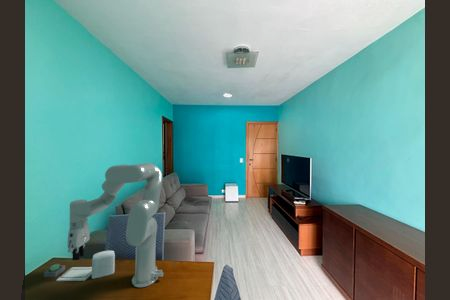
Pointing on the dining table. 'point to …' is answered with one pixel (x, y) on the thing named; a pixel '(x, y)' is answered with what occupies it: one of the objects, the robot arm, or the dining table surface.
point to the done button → (54, 267)
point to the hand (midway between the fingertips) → (78, 257)
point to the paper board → (76, 274)
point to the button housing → (54, 274)
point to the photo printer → (103, 264)
